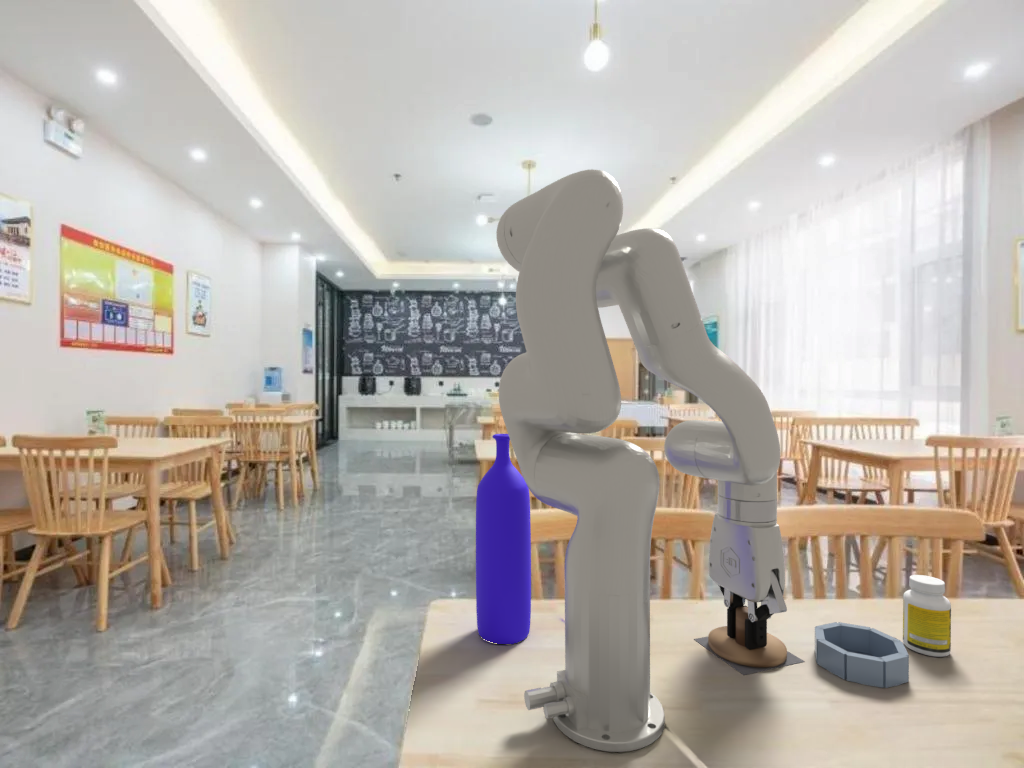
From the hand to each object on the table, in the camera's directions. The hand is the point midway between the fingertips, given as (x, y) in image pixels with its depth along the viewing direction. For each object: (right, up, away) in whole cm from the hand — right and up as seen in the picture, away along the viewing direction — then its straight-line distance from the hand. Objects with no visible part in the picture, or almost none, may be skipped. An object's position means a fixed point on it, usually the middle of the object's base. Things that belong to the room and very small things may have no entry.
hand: (746, 640), depth 75 cm
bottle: (-34, -2, +7) cm, 34 cm away
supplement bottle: (+26, -2, +1) cm, 26 cm away
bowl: (+13, -2, -4) cm, 14 cm away
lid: (0, -1, 0) cm, 1 cm away
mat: (0, -2, 0) cm, 2 cm away
